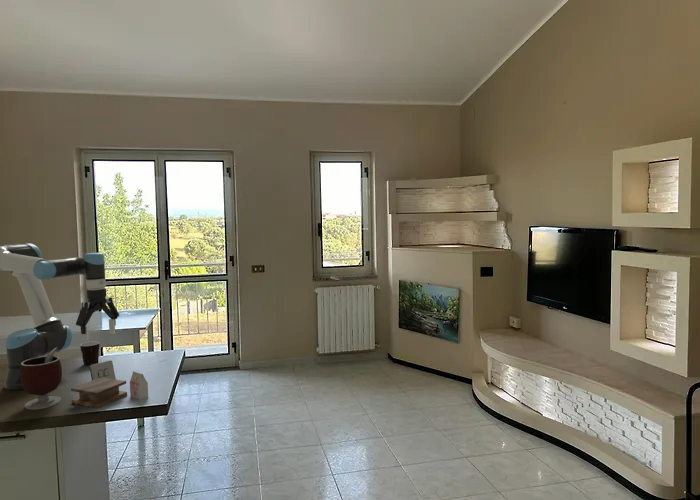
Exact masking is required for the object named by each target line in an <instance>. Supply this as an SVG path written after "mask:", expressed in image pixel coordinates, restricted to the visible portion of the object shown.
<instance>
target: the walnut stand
mask: <svg viewBox="0 0 700 500" xmlns="http://www.w3.org/2000/svg"><path fill="white" fill-rule="evenodd" d="M126 384H127V380H121V379H109V378H102V377H101V378H98V379H95V380H92V379H91V381H87V382H85V383H82V384H79V385H76V386H74V387H71V388H70V392H74V393H79V396H77V397H75V398H72V399H71V404H72V403H75V404H74V405H77V404H80V405H79V406H83V405H84V406H85V407H88V406H90V407H89V408H95V409H100V408H101V407H104V406H107V405H109V404H111V403H113V402H116V401H118V400H120V399H123V398H125V397H127V396H128V392H127V391H122V390H120V387H121V386H124V385H126Z"/></svg>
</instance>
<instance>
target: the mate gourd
mask: <svg viewBox="0 0 700 500" xmlns="http://www.w3.org/2000/svg"><path fill="white" fill-rule="evenodd" d="M56 349H57V348H54V349H53V350H52V351H51V352H50V353H49V354H47V355H44V356H40V357H36V358H32V359H28V360H25V361H23V362H22V363H21V369H20V380H21V384H22V387H23V389H22V390H24V391H25V392H26V393H27V394H29V395H33V396H38V398H34V399H32V400H29V401H27V402H26V403H25V404H24V408H25V409H26V410H33V411H35V410H43V409H47V408H51V407H54V406H57V405H59V404H60V403H62V397H61V396H57V395H56V396H55V395H50V396H49V395H48V394H50V393H51V392H53V391H56V390H57V389H58V387H59V386H60V384H61V382H62V377H63V370H62V369H63V366H62V363H61V362H62V361H61V359H60V357H59V356H57V355H54V354H55V353H56V352H55V350H56ZM59 402H60V403H59ZM58 403H59V404H58ZM56 404H57V405H56Z"/></svg>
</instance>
